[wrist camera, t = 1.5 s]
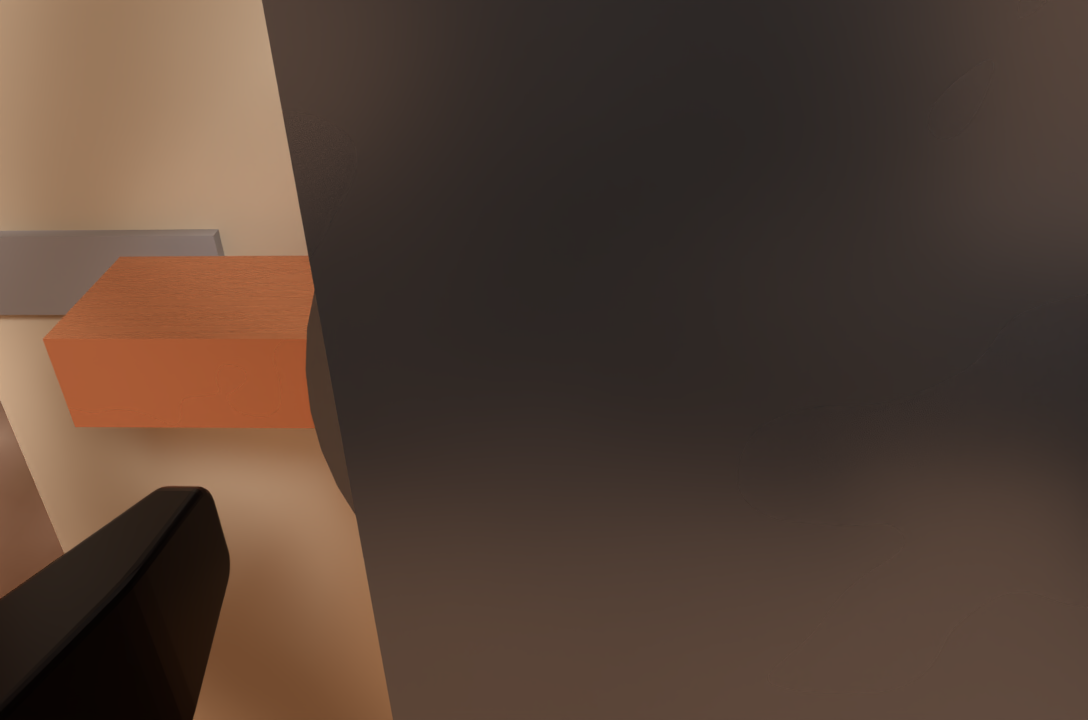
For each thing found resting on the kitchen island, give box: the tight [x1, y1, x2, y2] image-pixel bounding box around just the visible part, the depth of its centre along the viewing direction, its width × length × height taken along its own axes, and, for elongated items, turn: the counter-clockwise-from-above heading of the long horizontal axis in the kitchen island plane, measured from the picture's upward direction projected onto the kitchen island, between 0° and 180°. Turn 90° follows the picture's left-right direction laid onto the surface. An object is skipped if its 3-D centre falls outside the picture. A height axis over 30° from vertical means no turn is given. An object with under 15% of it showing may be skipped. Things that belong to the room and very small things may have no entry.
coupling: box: [43, 0, 1088, 720], centre depth 9 cm, size 11×11×8 cm
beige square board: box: [0, 0, 393, 720], centre depth 13 cm, size 20×20×1 cm
